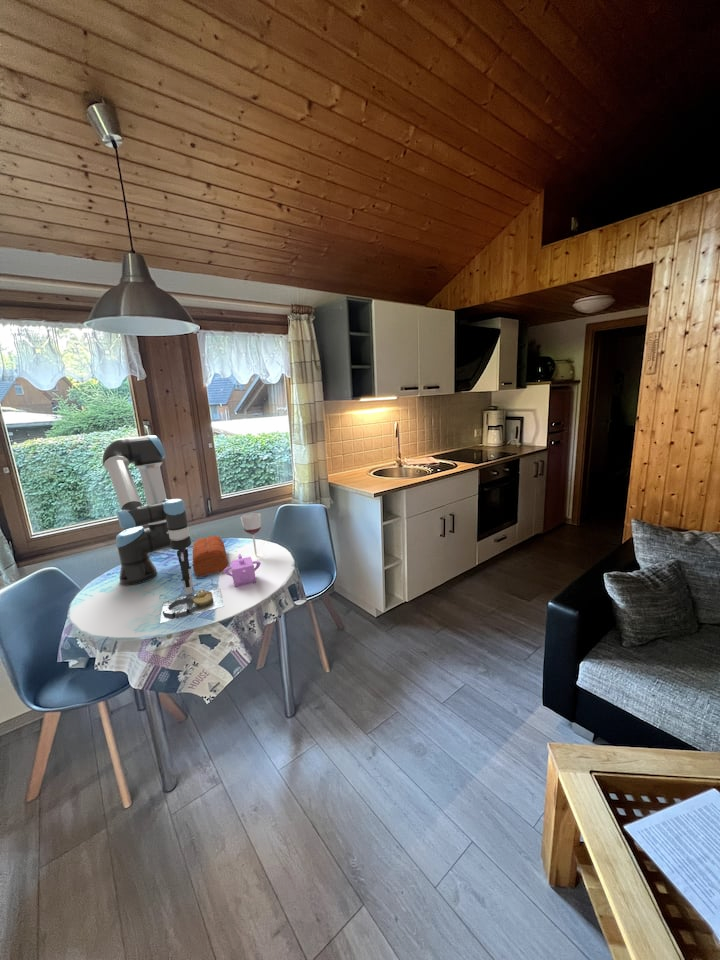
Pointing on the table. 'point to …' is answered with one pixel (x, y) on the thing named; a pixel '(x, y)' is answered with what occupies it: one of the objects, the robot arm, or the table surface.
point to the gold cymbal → (203, 598)
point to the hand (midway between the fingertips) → (189, 588)
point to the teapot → (243, 570)
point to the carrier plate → (188, 606)
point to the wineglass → (252, 530)
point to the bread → (209, 556)
